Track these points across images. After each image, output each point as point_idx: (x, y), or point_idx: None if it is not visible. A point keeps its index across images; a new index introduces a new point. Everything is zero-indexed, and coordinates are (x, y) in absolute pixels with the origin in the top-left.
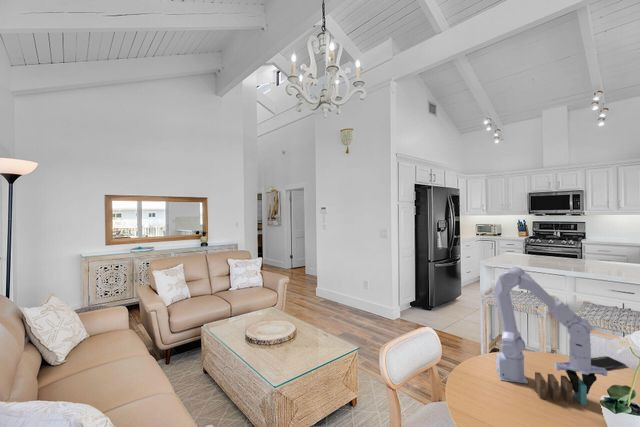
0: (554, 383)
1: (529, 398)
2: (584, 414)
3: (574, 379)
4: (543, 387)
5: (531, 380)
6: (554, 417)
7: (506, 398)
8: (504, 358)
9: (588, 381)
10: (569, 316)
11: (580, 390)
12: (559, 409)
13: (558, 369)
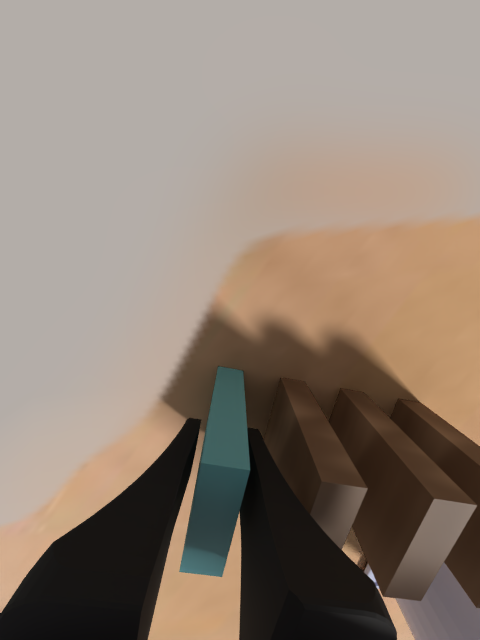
0: (446, 484)
1: (475, 400)
2: (283, 291)
3: (311, 541)
4: (473, 453)
5: (353, 531)
6: (470, 251)
7: None
8: None
9: (163, 517)
10: None
11: (246, 430)
12: (387, 323)
13: None
